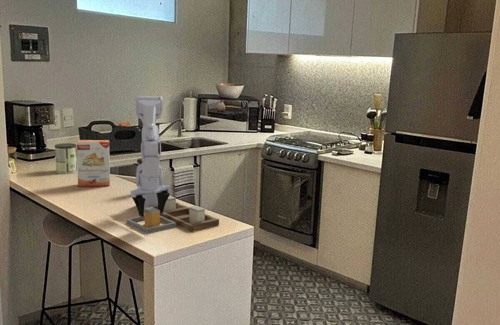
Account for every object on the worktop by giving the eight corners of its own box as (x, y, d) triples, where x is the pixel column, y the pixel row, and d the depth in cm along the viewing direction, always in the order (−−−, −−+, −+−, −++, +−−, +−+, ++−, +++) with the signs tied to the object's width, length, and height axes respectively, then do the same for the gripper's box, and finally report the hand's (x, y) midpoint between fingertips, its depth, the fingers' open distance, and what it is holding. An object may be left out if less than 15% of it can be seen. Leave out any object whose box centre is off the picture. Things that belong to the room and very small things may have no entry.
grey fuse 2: (189, 223, 170) (189, 207, 169) (196, 221, 172) (196, 205, 171) (197, 227, 166) (197, 210, 165) (204, 225, 168) (204, 208, 167)
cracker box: (77, 187, 217) (76, 141, 213) (78, 184, 223) (77, 139, 219) (110, 186, 221) (109, 141, 217) (110, 183, 227) (109, 139, 223)
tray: (126, 225, 168) (126, 219, 168) (155, 219, 176) (155, 213, 175) (146, 235, 158) (146, 229, 158) (176, 228, 166) (176, 222, 166)
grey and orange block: (144, 224, 167) (144, 208, 166) (152, 223, 169) (152, 206, 168) (152, 228, 164) (152, 211, 163) (159, 226, 166) (159, 210, 165)
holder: (148, 213, 182) (147, 206, 181) (174, 208, 190) (174, 201, 189) (191, 233, 162) (191, 225, 161) (219, 227, 170) (219, 219, 169)
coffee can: (61, 169, 254) (60, 142, 251) (80, 170, 253) (79, 143, 250) (52, 173, 244) (50, 145, 241) (71, 174, 243) (70, 146, 240)
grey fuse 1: (161, 211, 183) (161, 196, 182) (168, 210, 185) (168, 194, 184) (169, 214, 179) (169, 199, 178) (175, 213, 181) (175, 197, 180)
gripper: (137, 180, 156) (138, 220, 159) (175, 175, 166) (175, 213, 168) (127, 176, 161) (127, 215, 164) (164, 171, 171) (164, 208, 173)
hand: (151, 214), depth 166 cm, fingers open, 7 cm apart
